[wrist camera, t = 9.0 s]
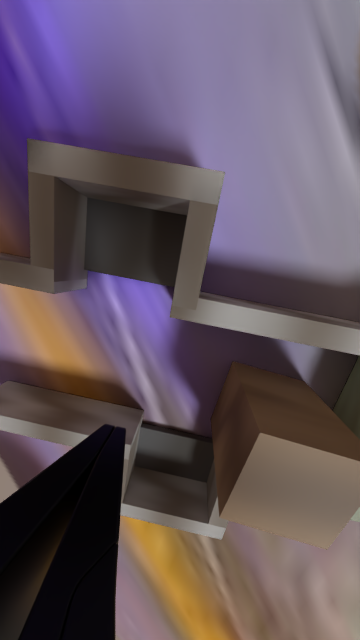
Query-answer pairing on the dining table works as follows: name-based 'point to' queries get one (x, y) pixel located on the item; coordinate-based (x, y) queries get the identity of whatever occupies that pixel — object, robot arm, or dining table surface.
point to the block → (283, 458)
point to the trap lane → (188, 304)
